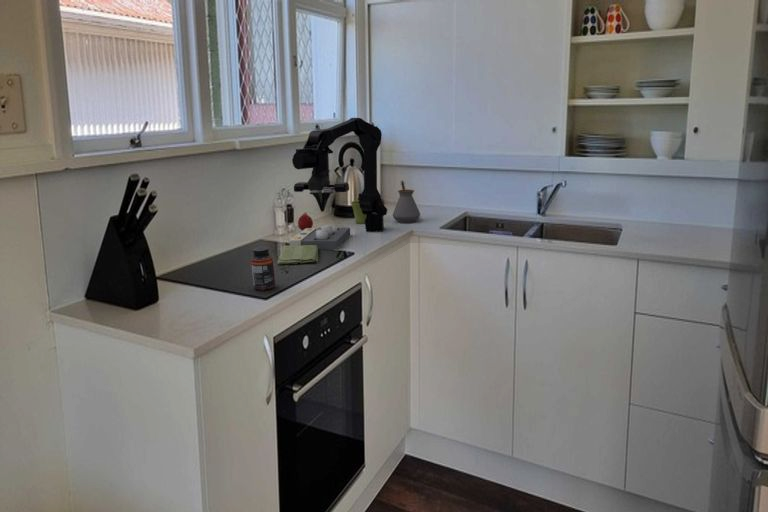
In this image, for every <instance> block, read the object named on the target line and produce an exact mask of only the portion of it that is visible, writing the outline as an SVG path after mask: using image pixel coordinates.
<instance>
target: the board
mask: <svg viewBox="0 0 768 512" xmlns="http://www.w3.org/2000/svg"><path fill="white" fill-rule="evenodd" d="M317 230H321V227H318V228H316V231H317ZM316 231H314V232H313V233H312V234H311V235H309V236H308V237H307V238H306V239H304V240H303V241H302V243H303V245H317V248H318V249H337V248H338V247H339V246H340V247H341V246H342V245H343V244H344V242H346V241H347V239H349V237H351V227H337V231H333V235H332V236H328V240H316ZM341 244H342V245H341ZM340 247H339V248H340ZM339 248H338V249H339ZM338 249H337V250H338Z"/></svg>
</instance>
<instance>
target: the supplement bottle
mask: <svg viewBox="0 0 768 512" xmlns="http://www.w3.org/2000/svg"><path fill="white" fill-rule="evenodd" d="M269 251H270V250H269V248H268V247H267V246H260V247H255V248H253V255H252V257H251V258H250V263H251V273H252V281H253V283H252V284H253V288H254V289H255V290H256V289H258V290H257V291H267V290H266V289H269V290H271V289H270V288H272V289H274V288H275V287H276V281H275V280H276V279H275V269H274V258H273V256H272V255H271V254H270V253H269ZM273 287H274V288H273Z"/></svg>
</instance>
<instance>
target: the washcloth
mask: <svg viewBox="0 0 768 512" xmlns="http://www.w3.org/2000/svg"><path fill="white" fill-rule="evenodd" d="M318 262H319V251H318V248H317V245H303V246H295V245H290V244H289V245H288V244H287V245H283V246H282V249H281V251H280V254H279V256H278V257H277V265H280V266H283V264H287V265H297V264H298V263H300V264H312V263H313V264H315V263H318ZM281 264H282V265H281ZM298 265H299V264H298Z"/></svg>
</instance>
